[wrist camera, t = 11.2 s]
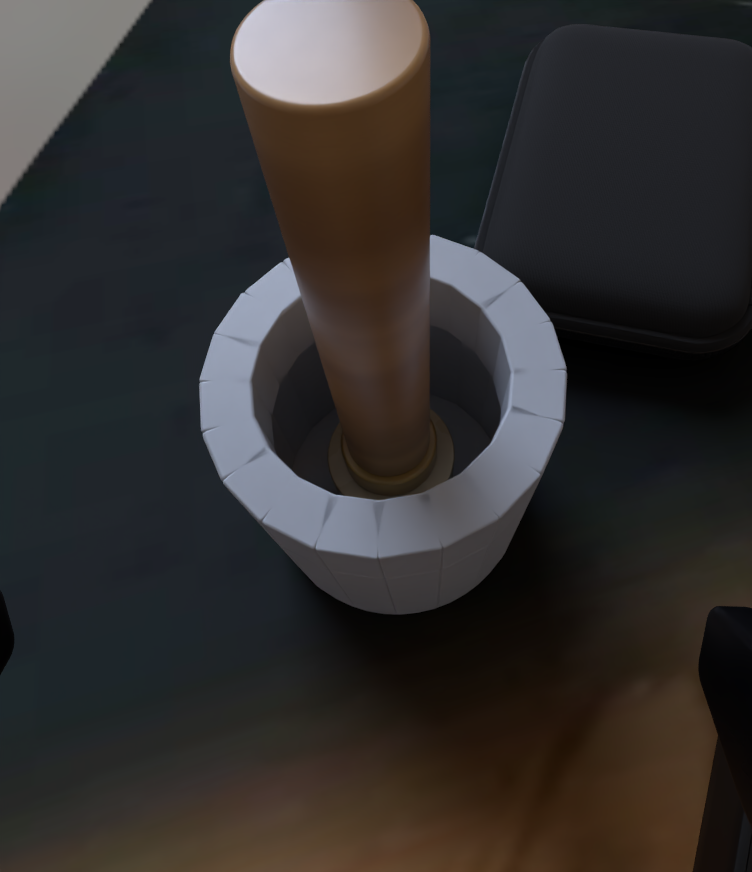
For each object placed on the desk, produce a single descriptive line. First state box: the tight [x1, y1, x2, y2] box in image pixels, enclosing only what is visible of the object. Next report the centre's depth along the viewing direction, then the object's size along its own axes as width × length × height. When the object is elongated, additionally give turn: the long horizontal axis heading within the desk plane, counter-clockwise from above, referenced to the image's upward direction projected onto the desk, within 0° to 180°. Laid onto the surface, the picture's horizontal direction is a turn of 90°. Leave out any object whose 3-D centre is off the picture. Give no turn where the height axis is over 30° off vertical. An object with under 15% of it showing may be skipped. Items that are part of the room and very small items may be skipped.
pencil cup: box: [199, 235, 567, 615], centre depth 17 cm, size 8×8×8 cm
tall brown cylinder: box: [230, 0, 455, 500], centre depth 14 cm, size 4×4×15 cm
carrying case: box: [474, 24, 752, 361], centre depth 24 cm, size 11×3×15 cm
